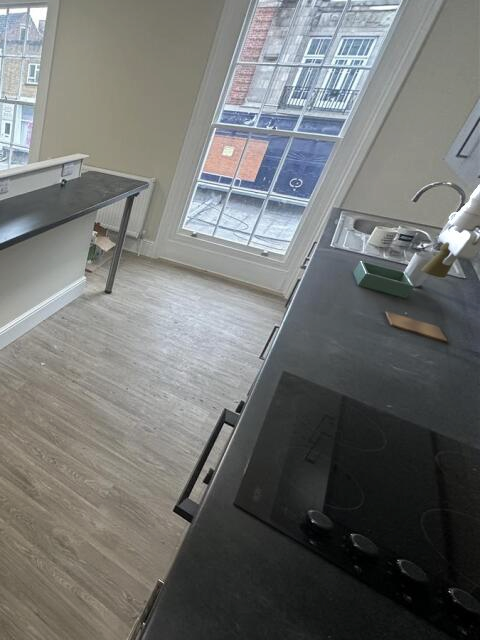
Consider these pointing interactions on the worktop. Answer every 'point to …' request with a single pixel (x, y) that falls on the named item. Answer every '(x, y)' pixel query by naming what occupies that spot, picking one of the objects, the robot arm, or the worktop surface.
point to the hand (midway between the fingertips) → (442, 261)
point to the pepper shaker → (438, 263)
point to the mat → (415, 326)
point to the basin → (383, 279)
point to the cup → (418, 268)
